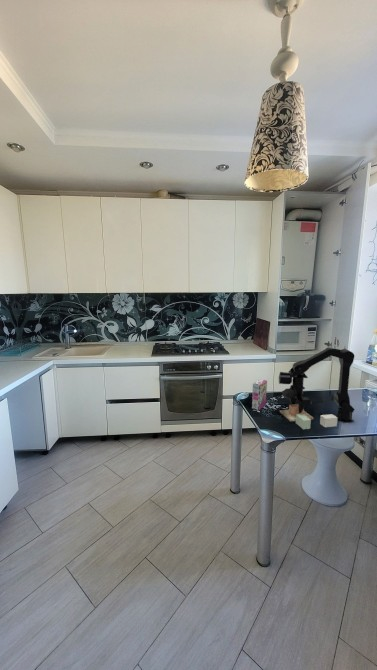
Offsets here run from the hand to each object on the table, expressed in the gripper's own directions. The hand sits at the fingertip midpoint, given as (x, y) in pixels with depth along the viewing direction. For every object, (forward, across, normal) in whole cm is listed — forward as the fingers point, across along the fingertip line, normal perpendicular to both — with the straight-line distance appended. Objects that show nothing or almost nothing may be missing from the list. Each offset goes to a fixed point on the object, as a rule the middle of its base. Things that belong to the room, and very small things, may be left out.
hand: (296, 410), depth 150 cm
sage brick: (+3, +12, -3) cm, 12 cm away
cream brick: (+3, +13, +11) cm, 17 cm away
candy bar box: (+3, -15, -16) cm, 22 cm away
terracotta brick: (+2, 0, 0) cm, 2 cm away
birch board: (+3, 0, 0) cm, 3 cm away
